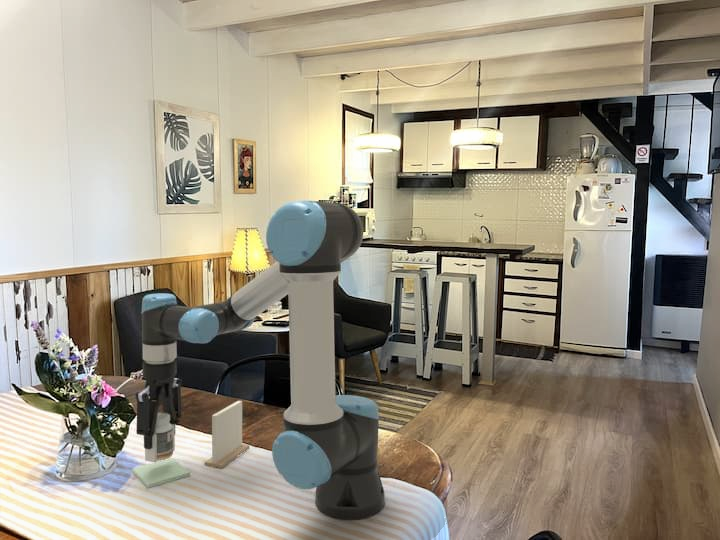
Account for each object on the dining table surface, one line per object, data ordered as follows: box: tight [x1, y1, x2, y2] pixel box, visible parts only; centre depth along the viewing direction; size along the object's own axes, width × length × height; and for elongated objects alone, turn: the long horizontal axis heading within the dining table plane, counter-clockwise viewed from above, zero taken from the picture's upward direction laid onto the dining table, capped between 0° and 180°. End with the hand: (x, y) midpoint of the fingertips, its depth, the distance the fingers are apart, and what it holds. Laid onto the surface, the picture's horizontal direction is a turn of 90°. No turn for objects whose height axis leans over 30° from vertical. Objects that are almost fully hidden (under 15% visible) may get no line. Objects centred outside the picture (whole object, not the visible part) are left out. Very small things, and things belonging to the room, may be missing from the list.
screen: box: [203, 400, 250, 469], centre depth 142 cm, size 13×5×13 cm, turn 161°
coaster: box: [131, 457, 191, 489], centre depth 133 cm, size 10×10×1 cm
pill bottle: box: [154, 412, 174, 462], centre depth 132 cm, size 6×6×10 cm
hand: (160, 455), depth 132 cm, fingers closed on pill bottle, 6 cm apart
